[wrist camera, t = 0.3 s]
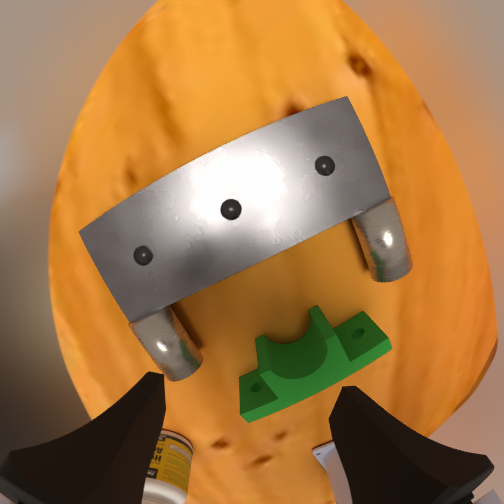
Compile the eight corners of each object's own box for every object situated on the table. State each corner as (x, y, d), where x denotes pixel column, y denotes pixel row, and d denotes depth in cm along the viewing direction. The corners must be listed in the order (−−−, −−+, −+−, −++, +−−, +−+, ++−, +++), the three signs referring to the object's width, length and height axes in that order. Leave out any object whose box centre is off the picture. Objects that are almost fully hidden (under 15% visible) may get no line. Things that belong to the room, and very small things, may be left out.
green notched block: (350, 282, 19) (378, 307, 15) (366, 319, 20) (393, 348, 16) (220, 354, 20) (218, 393, 16) (245, 385, 21) (248, 424, 16)
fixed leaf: (397, 253, 19) (421, 265, 16) (171, 360, 20) (162, 385, 17) (338, 103, 16) (357, 89, 13) (90, 228, 17) (67, 236, 14)
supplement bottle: (166, 422, 22) (147, 504, 12) (203, 448, 23) (197, 525, 13) (133, 435, 22) (111, 505, 13) (169, 459, 23) (157, 527, 14)
